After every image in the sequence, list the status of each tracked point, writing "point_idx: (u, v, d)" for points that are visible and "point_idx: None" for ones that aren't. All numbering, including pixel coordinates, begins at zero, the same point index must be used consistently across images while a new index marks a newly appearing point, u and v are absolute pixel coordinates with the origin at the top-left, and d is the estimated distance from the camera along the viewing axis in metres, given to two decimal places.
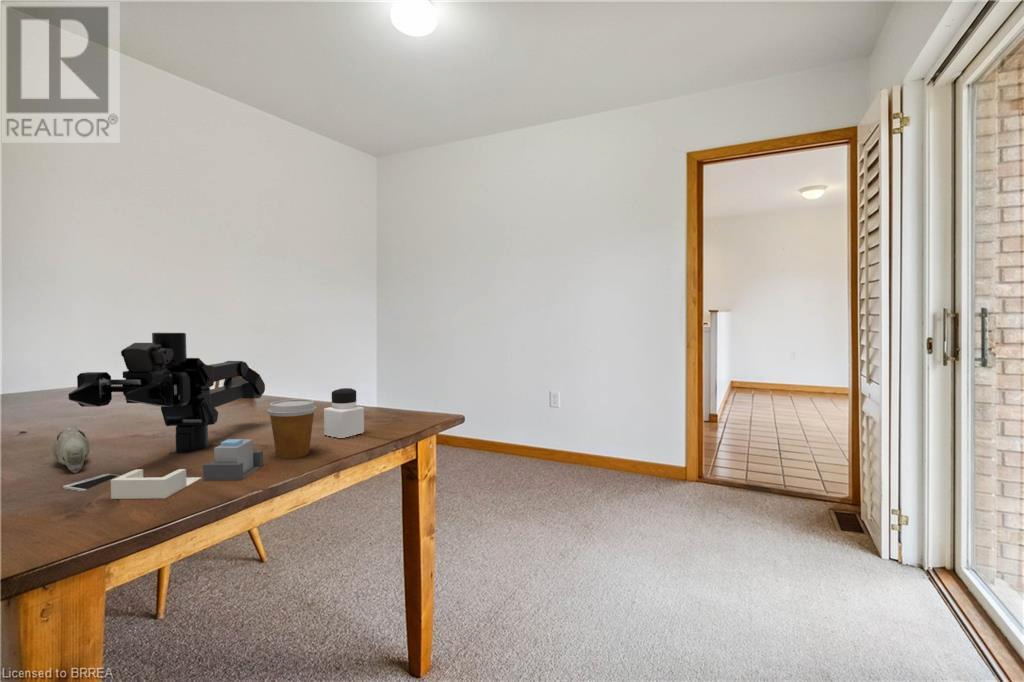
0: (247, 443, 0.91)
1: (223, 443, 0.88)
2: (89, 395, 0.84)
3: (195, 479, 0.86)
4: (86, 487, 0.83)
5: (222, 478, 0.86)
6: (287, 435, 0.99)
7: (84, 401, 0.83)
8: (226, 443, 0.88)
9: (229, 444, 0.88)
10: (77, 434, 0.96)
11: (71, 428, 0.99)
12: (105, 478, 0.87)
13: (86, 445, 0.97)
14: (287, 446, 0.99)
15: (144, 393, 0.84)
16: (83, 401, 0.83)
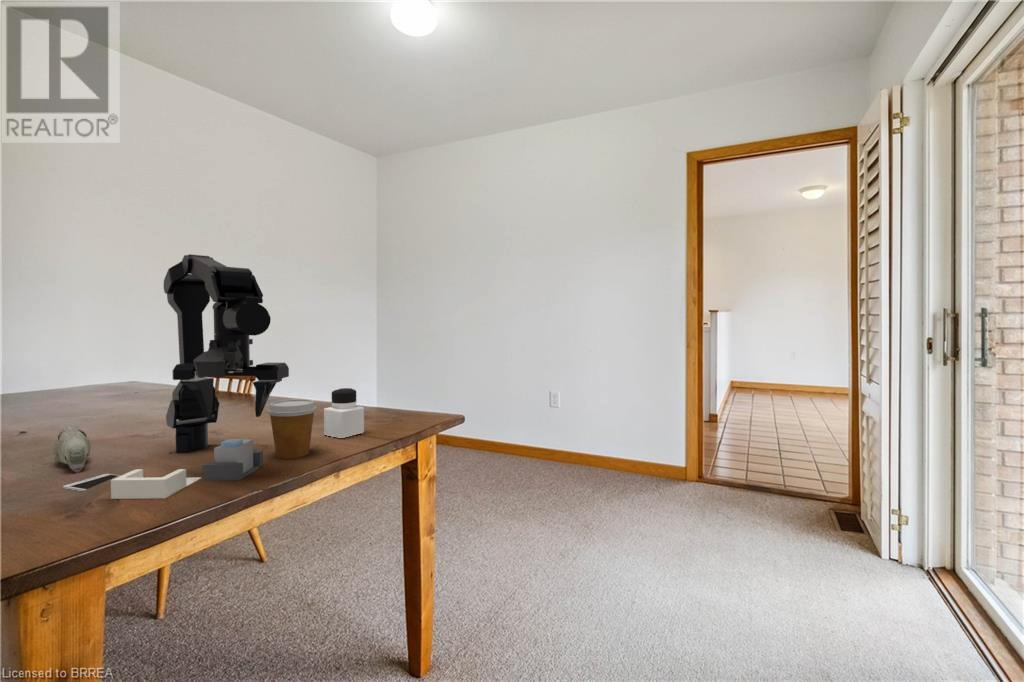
0: (247, 443, 0.91)
1: (223, 443, 0.88)
2: (208, 394, 0.90)
3: (195, 479, 0.86)
4: (86, 487, 0.83)
5: (222, 478, 0.86)
6: (287, 435, 0.99)
7: (212, 400, 0.91)
8: (226, 443, 0.88)
9: (229, 444, 0.88)
10: (78, 433, 0.97)
11: (72, 428, 0.99)
12: (105, 478, 0.87)
13: (87, 444, 0.97)
14: (287, 446, 0.99)
15: (262, 400, 0.90)
16: (212, 401, 0.91)
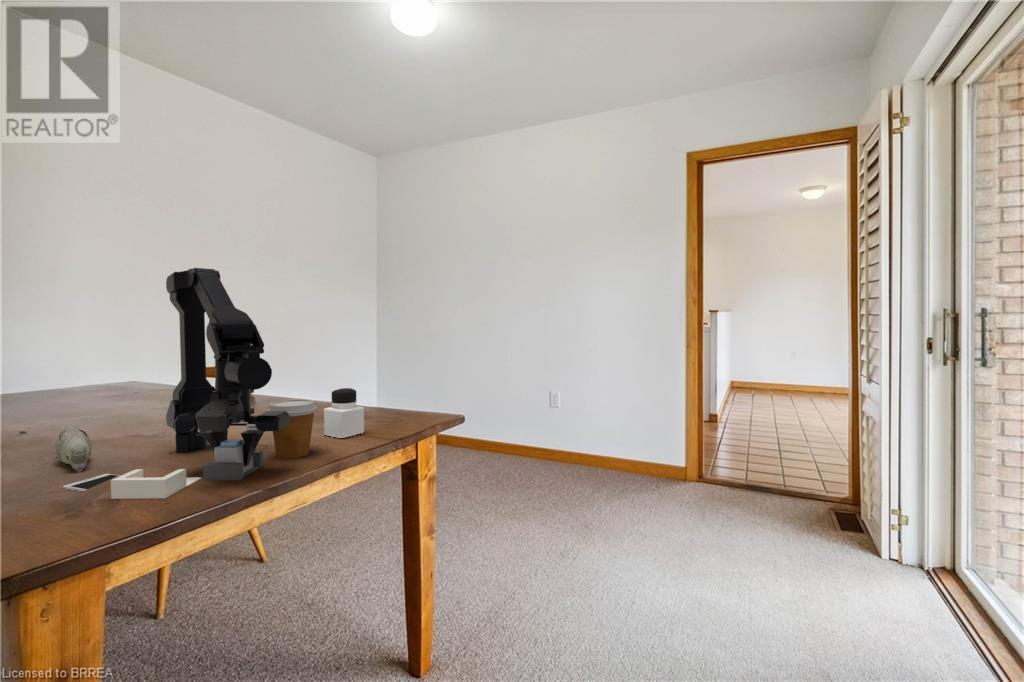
0: None
1: (223, 443, 0.88)
2: None
3: (195, 479, 0.86)
4: (86, 487, 0.83)
5: (222, 478, 0.86)
6: (287, 435, 0.99)
7: None
8: (226, 443, 0.88)
9: (229, 444, 0.88)
10: (79, 433, 0.97)
11: (73, 427, 1.00)
12: (105, 478, 0.87)
13: (88, 444, 0.97)
14: (287, 446, 0.99)
15: (250, 450, 0.90)
16: None
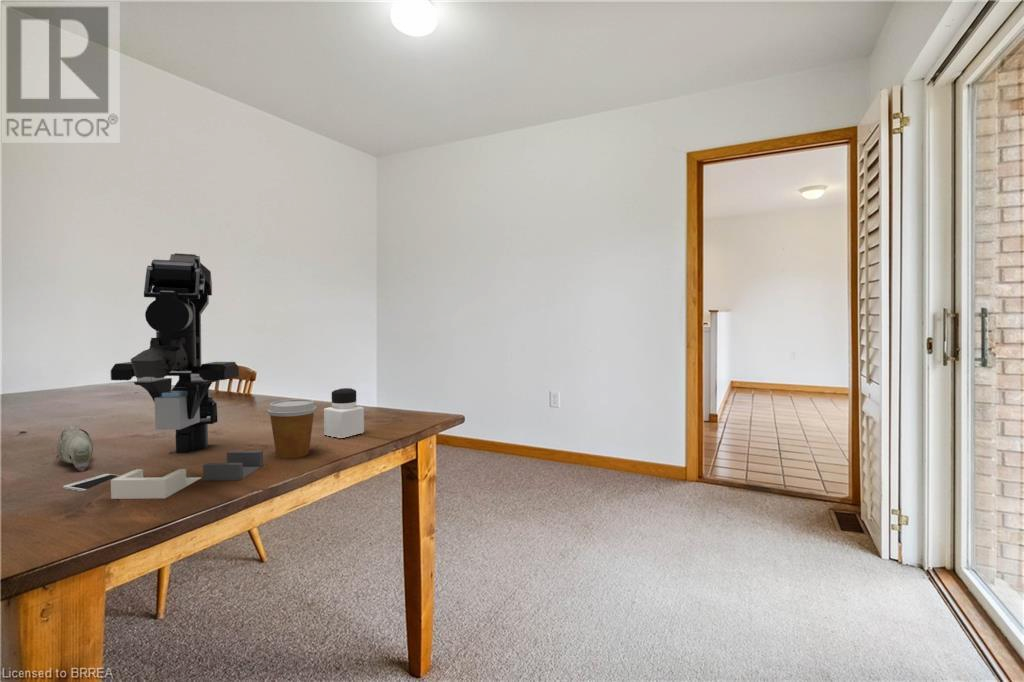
0: None
1: (164, 394, 0.83)
2: None
3: (195, 479, 0.86)
4: (86, 487, 0.83)
5: (222, 478, 0.86)
6: (287, 435, 0.99)
7: None
8: (168, 394, 0.83)
9: (171, 395, 0.83)
10: (81, 433, 0.97)
11: (74, 427, 1.00)
12: (105, 478, 0.87)
13: (90, 443, 0.98)
14: (287, 446, 0.99)
15: (195, 402, 0.85)
16: None
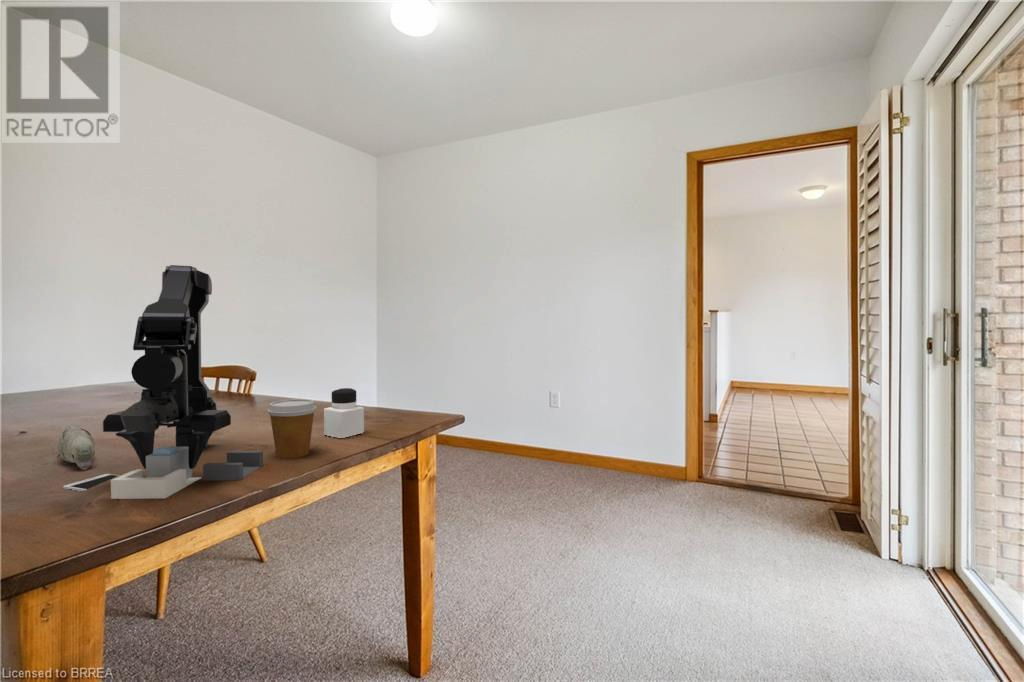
0: (184, 451, 0.86)
1: (156, 451, 0.82)
2: (148, 444, 0.85)
3: (195, 479, 0.86)
4: (86, 487, 0.83)
5: (222, 478, 0.86)
6: (287, 435, 0.99)
7: (152, 450, 0.86)
8: (159, 451, 0.82)
9: (162, 452, 0.83)
10: (83, 432, 0.98)
11: (75, 427, 1.00)
12: (105, 478, 0.87)
13: (92, 443, 0.98)
14: (287, 446, 0.99)
15: (197, 451, 0.85)
16: (152, 451, 0.86)
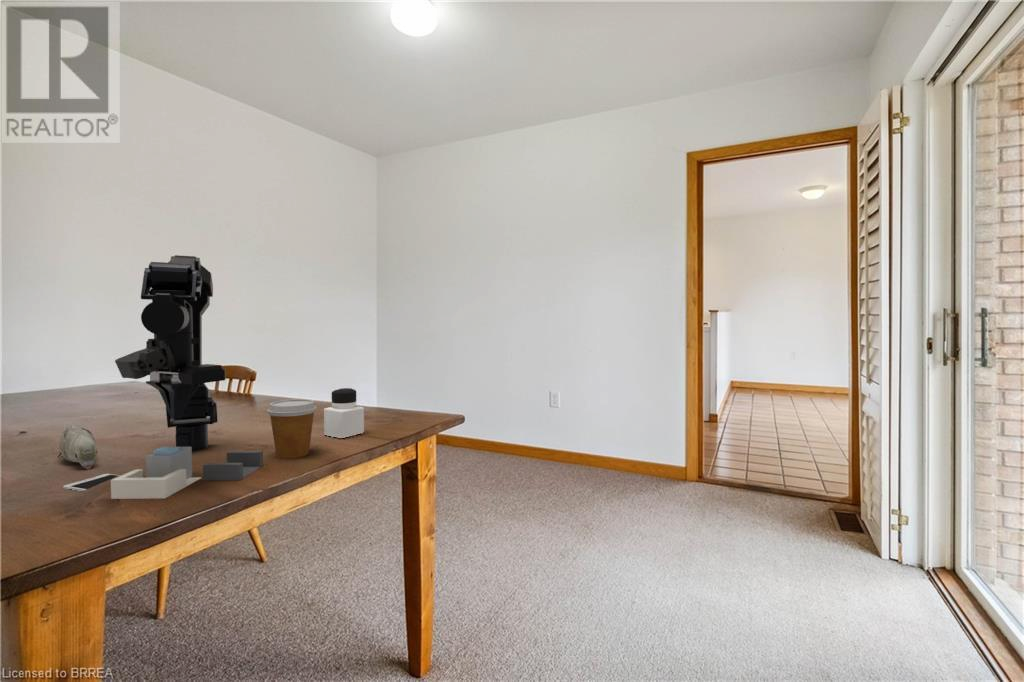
0: (184, 451, 0.86)
1: (156, 451, 0.82)
2: None
3: (195, 479, 0.86)
4: (86, 487, 0.83)
5: (222, 478, 0.86)
6: (287, 435, 0.99)
7: None
8: (159, 451, 0.82)
9: (162, 452, 0.83)
10: (85, 432, 0.98)
11: (76, 426, 1.01)
12: (105, 478, 0.87)
13: None
14: (287, 446, 0.99)
15: (179, 403, 0.86)
16: None
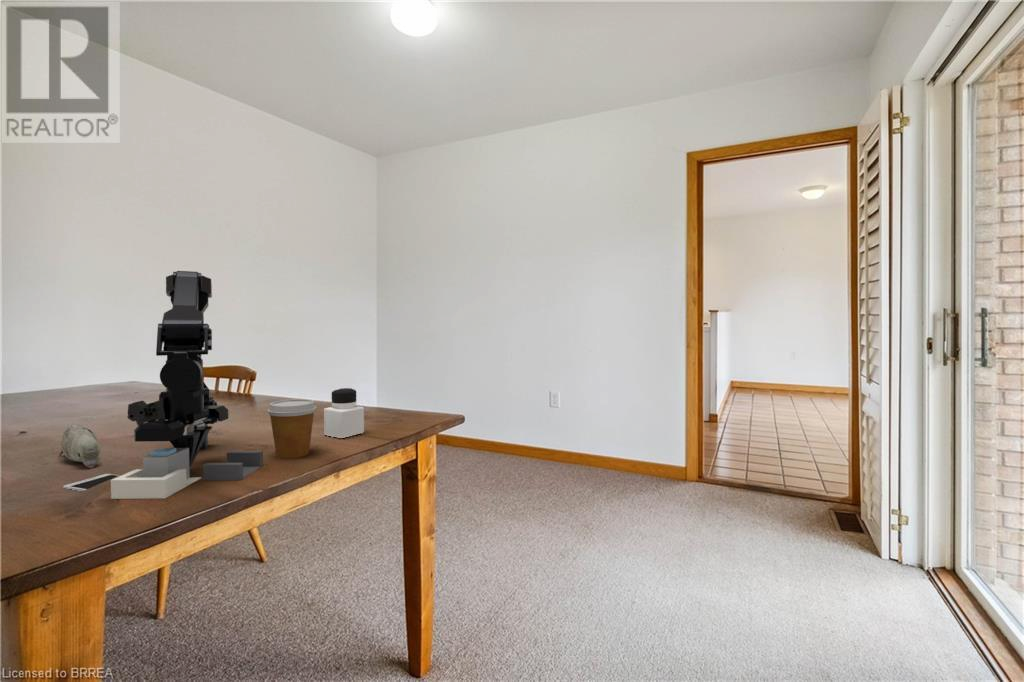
0: (181, 452, 0.85)
1: (153, 452, 0.82)
2: None
3: (195, 479, 0.86)
4: (86, 487, 0.83)
5: (222, 478, 0.86)
6: (287, 435, 0.99)
7: None
8: (156, 452, 0.82)
9: (159, 453, 0.82)
10: (86, 431, 0.99)
11: (77, 426, 1.01)
12: (105, 478, 0.87)
13: None
14: (287, 446, 0.99)
15: None
16: (194, 453, 0.89)
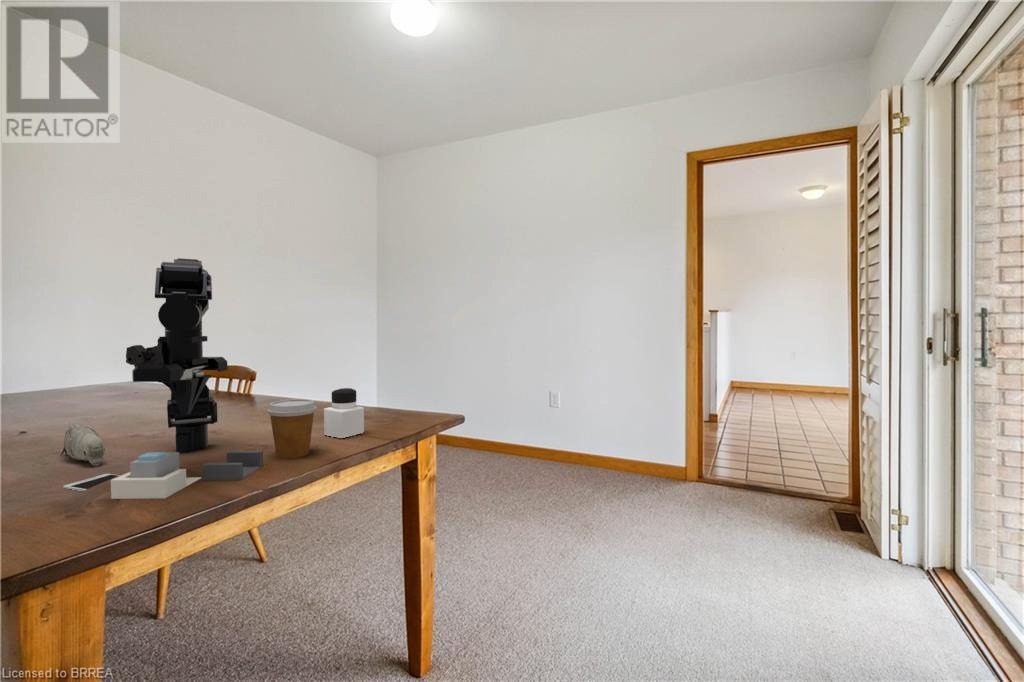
0: (171, 457, 0.82)
1: (141, 457, 0.79)
2: None
3: (195, 479, 0.86)
4: (86, 487, 0.83)
5: (222, 478, 0.86)
6: (287, 435, 0.99)
7: (193, 398, 0.89)
8: (144, 457, 0.79)
9: (148, 458, 0.79)
10: (90, 430, 1.00)
11: (79, 425, 1.02)
12: (105, 478, 0.87)
13: None
14: (287, 446, 0.99)
15: (181, 399, 0.88)
16: (193, 400, 0.89)
